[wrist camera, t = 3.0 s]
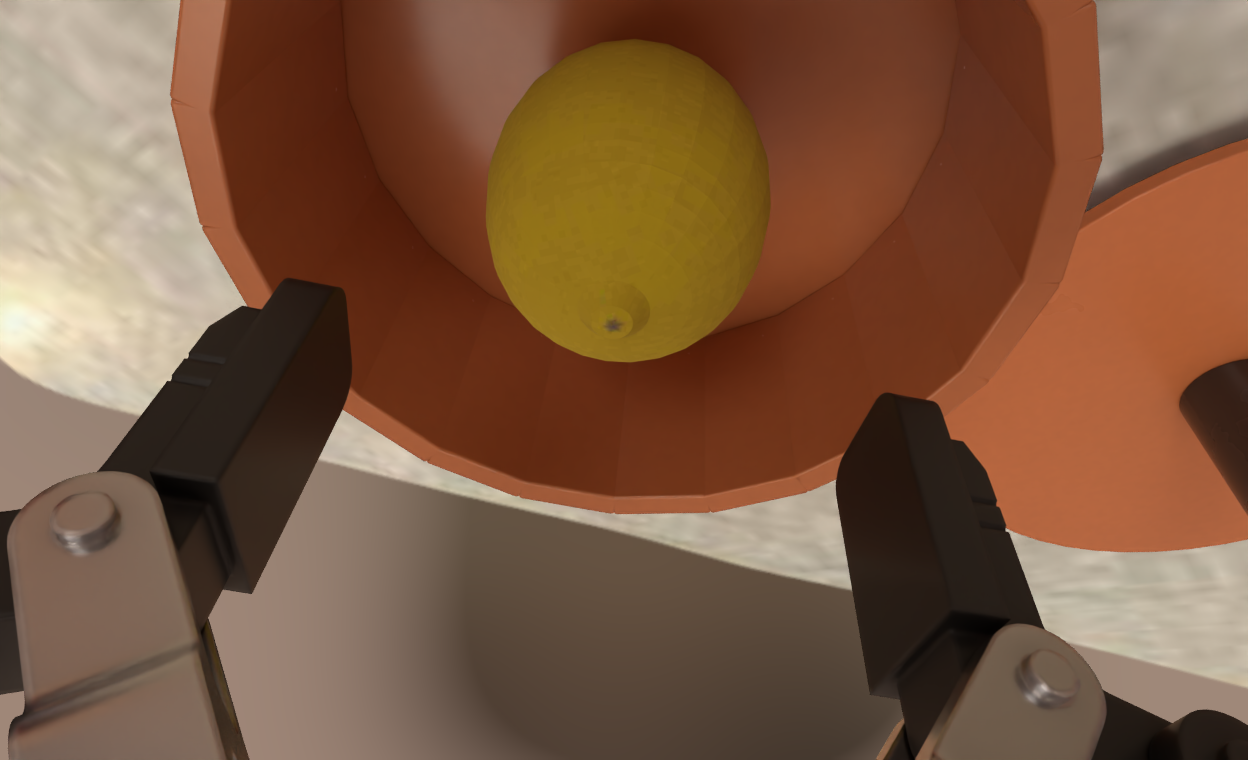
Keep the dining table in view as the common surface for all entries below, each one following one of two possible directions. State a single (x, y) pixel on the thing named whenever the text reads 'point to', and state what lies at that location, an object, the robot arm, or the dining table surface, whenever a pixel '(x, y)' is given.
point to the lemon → (628, 201)
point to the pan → (791, 255)
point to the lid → (1132, 375)
